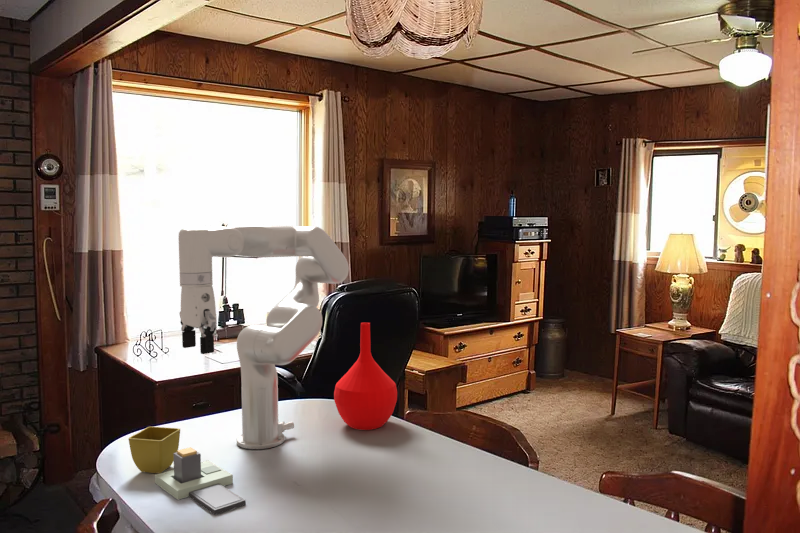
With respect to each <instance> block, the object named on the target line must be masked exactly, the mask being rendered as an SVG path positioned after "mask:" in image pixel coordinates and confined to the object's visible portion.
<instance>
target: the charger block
mask: <svg viewBox="0 0 800 533" xmlns="http://www.w3.org/2000/svg"><path fill="white" fill-rule="evenodd" d="M173 455H174V461H173V470H174V479H175V480H176V481H178V482H179V483H185V482H188V481H192V480H195V479H199V478H201V462H202V461H201V460H202V458H201V453H200V452H199V451H198V450H195V448H193V447H186V448H183V449H182V448H181V449H178V450H177V452H176V453H173Z"/></svg>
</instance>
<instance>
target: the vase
mask: <svg viewBox="0 0 800 533" xmlns="http://www.w3.org/2000/svg"><path fill="white" fill-rule="evenodd" d="M359 339H360V343H359V346H360V348H359V349H360V351H359V352H360V353H359V356H358V358H357V360H356V361H355V362H354V363H353V365H352V366H351V367H350V368H349V369H348V371H347V372H346V373H344V375H343V376H341V378H340V379H339V380H338V381H337V382H336V384H335V386H334V391H333V399H334V400H333V401H334V404H335V407H336V409H337V412H338V415H339V416H340V418H341V420H342V421H343V422H344V423H345V424H346V425H347V426H348V427H349V428H351V429H353V430H354V429H355V430H362V431H370V430H376V429H379V428H381V427H382V428H383V426H384V425H385V424H386V423H387V422H388V421H389V420H390V418H391V417H392V415H393V413H394V410H395V407H396V405H397V404H396V403H397V401H398V389H397V384H396V382H395V381H394V380H393V379H392V378H391V377H390V376H389V375H388V374H387V373H386V372H385V371H384V370H383V369H382V368H381V366H380V365H379V364H378V363H377V362H376V360H375V359H374V358H373V356H372V352H371V351H372V350H371V348H372V347H371V345H372V344H371V343H372V342H371V322H360V338H359Z"/></svg>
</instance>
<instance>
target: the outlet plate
mask: <svg viewBox="0 0 800 533" xmlns="http://www.w3.org/2000/svg"><path fill="white" fill-rule="evenodd" d="M233 478H234V475H233V473H231V472H229V471H227V470H225V469H224V468H222V467H220V466H218V465H217V464H216V463H213V461H210V460H205V461H201V478H199V479H195V480H192V481H188V482H185V483H179V482H178V481H176V480H175V479H174V469H171V470H168V471H163V472H161V473H155V474H154V482H155V484H156V485H157V486H158V487H159V488H160V489H162V490H163V491H165V492H166V493H168V494H169V495H170V496H172V497H173V498H175V500H177V501H179V500H181V499H185V498H188V497H189V492H191V491H194V490H198V489H201V488H204V487H208V486H211V485H214V484H218V483H219V484H221V485H222V486H224V487H225V486H226V487H227V486H229V485H232V484H233V483H234V479H233ZM189 498H190V497H189Z"/></svg>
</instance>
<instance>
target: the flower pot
mask: <svg viewBox="0 0 800 533" xmlns="http://www.w3.org/2000/svg"><path fill="white" fill-rule="evenodd" d="M180 436H181V428H178V427H177V428H176V427H165V426H164V427H163V426H147V427H146V428H144V429H142V430H141V431H139V432H137V433H135V434H133V435H131V436H130V437H128V444H129V448H130V456H131V458H132V461H133V463H134V465H135V466H136V468H137V469H138V470H139V471H140V472H141V473H149V474H160V473H163V472H165V471H166V470H167V469H168V468H170V467H171V466H172V464H174V455H173V453H176V452H177V450H179V448H180V447H179V446H180V438H181V437H180Z"/></svg>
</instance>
